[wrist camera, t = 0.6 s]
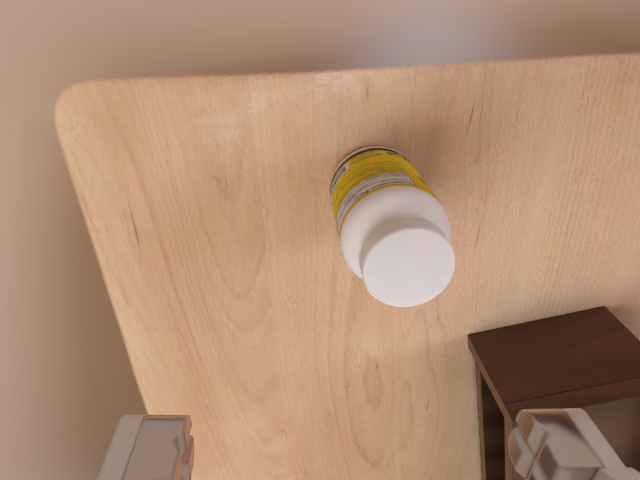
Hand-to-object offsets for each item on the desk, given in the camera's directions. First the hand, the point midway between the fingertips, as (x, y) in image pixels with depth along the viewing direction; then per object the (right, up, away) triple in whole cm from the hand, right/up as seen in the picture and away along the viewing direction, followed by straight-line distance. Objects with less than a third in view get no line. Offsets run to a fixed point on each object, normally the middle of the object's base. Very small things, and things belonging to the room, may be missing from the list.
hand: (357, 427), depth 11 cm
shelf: (+21, -14, +35) cm, 43 cm away
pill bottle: (+3, +9, +21) cm, 23 cm away
